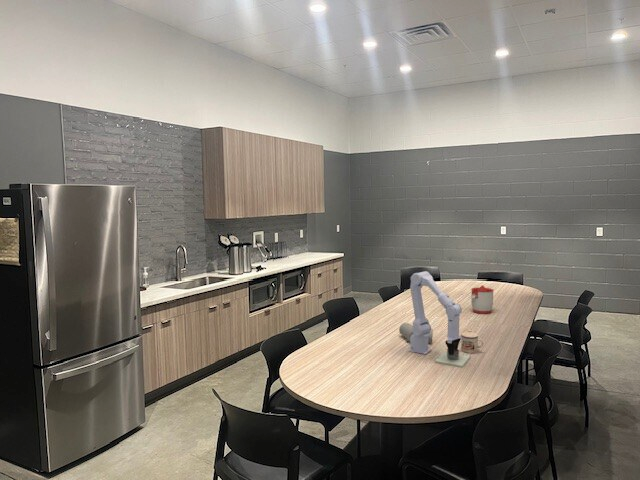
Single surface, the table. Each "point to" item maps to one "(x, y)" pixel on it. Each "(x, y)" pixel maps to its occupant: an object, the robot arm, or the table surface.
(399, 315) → the table surface
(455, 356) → the collar
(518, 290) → the table surface
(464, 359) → the pegged green plate
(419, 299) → the robot arm
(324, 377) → the table surface
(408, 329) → the bent grey cylinder
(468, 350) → the teacup with lid
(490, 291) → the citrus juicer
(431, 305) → the table surface
